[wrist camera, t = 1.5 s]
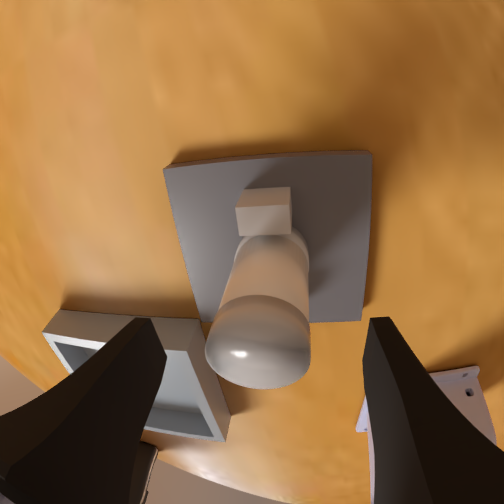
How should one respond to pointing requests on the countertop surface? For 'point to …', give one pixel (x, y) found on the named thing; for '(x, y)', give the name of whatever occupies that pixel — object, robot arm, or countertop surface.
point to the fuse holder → (277, 221)
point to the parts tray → (175, 374)
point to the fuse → (264, 314)
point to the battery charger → (142, 473)
